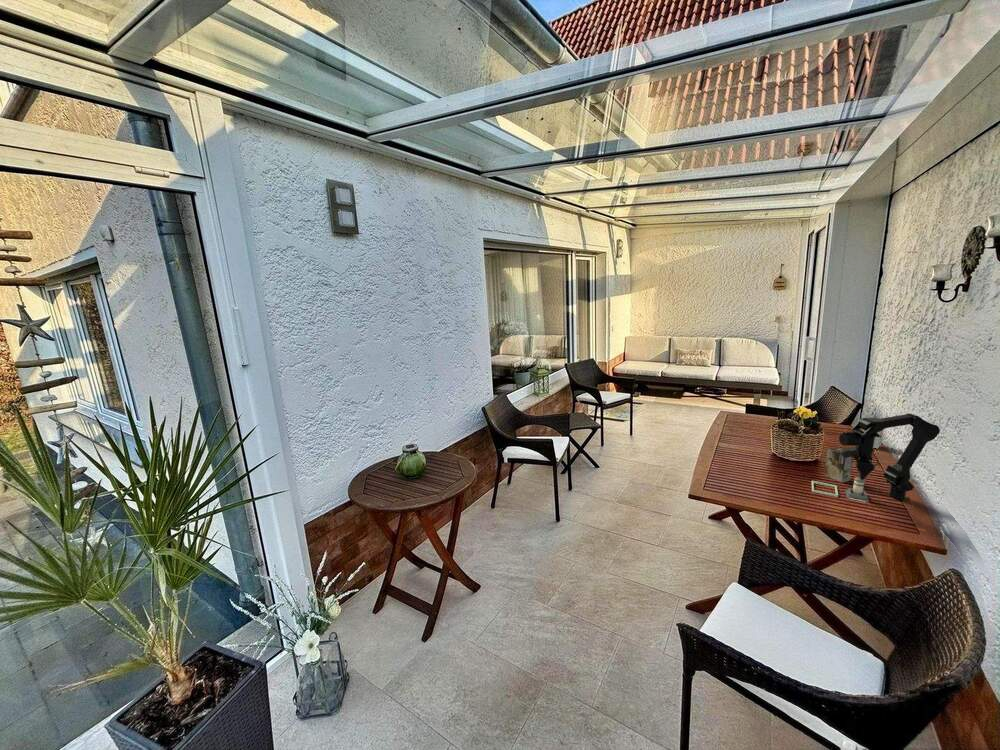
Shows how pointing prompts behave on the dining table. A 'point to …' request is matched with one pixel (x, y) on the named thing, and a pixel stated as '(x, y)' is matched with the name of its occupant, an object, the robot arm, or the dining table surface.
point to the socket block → (856, 496)
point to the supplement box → (877, 439)
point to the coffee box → (838, 465)
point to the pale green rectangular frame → (824, 492)
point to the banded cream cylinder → (858, 486)
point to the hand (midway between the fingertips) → (860, 475)
